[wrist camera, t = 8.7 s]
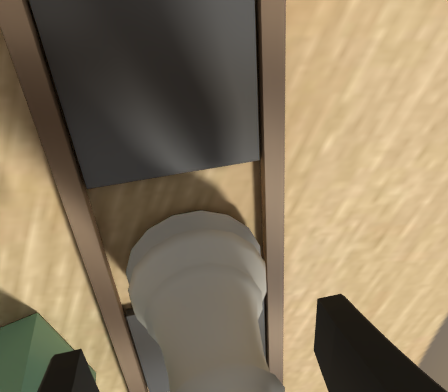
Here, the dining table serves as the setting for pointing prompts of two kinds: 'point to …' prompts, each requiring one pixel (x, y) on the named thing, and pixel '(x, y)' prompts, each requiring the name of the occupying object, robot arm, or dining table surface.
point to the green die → (28, 353)
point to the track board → (155, 123)
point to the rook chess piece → (203, 302)
